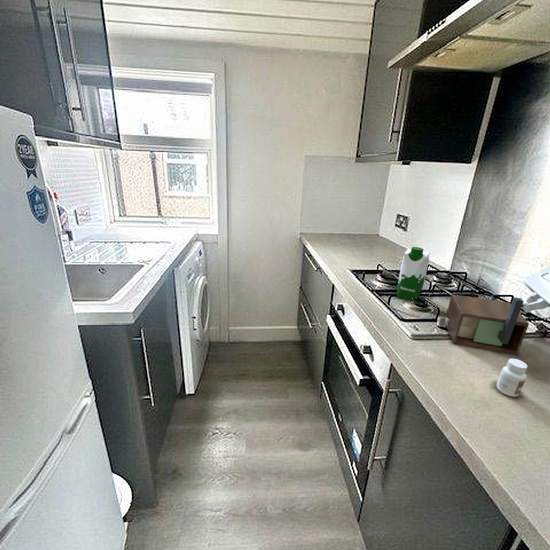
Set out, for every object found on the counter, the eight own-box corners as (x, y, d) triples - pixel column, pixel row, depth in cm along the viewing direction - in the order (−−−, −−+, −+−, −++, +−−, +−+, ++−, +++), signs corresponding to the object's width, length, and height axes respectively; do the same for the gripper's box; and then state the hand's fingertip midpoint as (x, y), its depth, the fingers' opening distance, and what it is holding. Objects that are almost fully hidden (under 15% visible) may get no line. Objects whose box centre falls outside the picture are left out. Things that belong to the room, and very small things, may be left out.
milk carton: (393, 297, 117) (403, 247, 110) (398, 289, 124) (408, 242, 117) (418, 303, 112) (429, 252, 105) (421, 295, 120) (433, 246, 112)
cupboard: (500, 330, 96) (509, 302, 92) (517, 354, 84) (529, 323, 80) (444, 321, 100) (451, 294, 97) (453, 343, 88) (461, 313, 85)
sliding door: (500, 345, 86) (518, 295, 80) (505, 353, 82) (524, 301, 77) (473, 340, 88) (488, 291, 82) (476, 347, 84) (493, 296, 79)
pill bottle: (520, 400, 68) (531, 372, 65) (496, 392, 70) (506, 364, 67) (517, 388, 71) (528, 361, 68) (495, 381, 73) (505, 354, 71)
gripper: (553, 256, 81) (500, 284, 87) (604, 284, 63) (532, 317, 69) (567, 274, 81) (513, 300, 88) (621, 307, 63) (548, 337, 70)
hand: (522, 308), depth 78 cm, fingers closed, pressing on sliding door
